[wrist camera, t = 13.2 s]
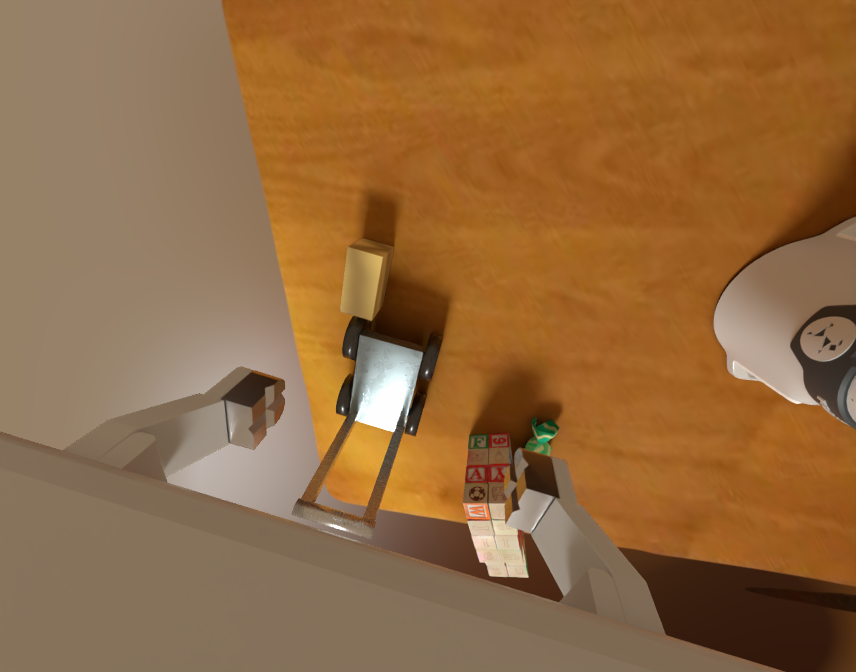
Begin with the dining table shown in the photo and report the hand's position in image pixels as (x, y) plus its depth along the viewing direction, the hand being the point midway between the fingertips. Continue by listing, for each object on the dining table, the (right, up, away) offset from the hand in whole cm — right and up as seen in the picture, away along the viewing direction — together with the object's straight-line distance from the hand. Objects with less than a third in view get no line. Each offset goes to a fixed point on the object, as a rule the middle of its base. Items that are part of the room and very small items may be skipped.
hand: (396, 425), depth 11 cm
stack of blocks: (+13, -21, +45) cm, 51 cm away
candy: (+18, -14, +40) cm, 46 cm away
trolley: (-4, -1, +37) cm, 37 cm away
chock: (-6, +11, +31) cm, 34 cm away
